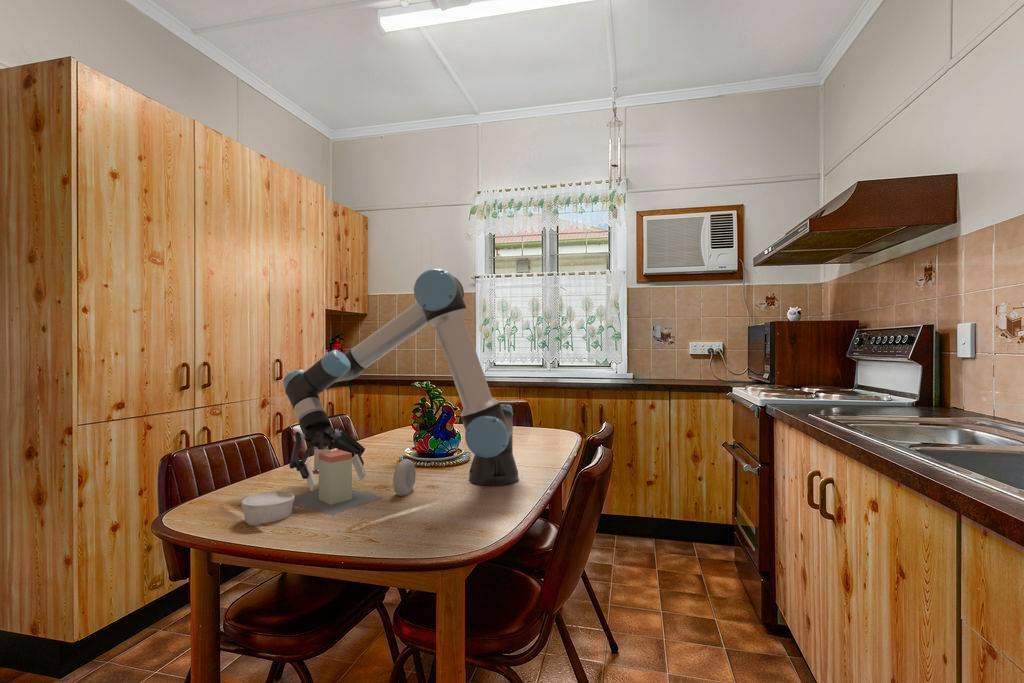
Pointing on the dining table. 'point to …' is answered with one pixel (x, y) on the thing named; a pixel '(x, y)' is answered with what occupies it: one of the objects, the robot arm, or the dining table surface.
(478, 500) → the dining table surface
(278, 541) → the dining table surface
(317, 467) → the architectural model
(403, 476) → the grey wheel
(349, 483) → the sage block
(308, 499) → the slate mat
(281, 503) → the ramekin
